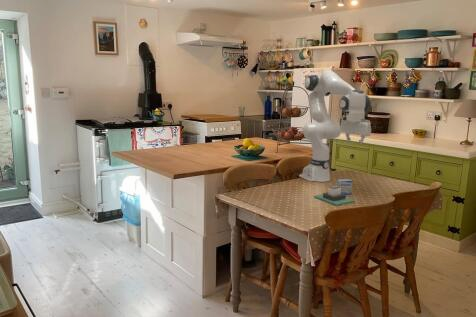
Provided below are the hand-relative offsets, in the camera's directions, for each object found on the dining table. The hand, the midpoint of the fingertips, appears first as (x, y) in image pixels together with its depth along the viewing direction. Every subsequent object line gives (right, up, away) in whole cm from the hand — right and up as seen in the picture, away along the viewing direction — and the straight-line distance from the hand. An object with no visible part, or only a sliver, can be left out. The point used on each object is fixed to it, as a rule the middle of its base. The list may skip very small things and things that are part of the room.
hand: (354, 142), depth 229 cm
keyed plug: (-14, -32, -8) cm, 36 cm away
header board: (-14, -33, -8) cm, 37 cm away
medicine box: (-5, -31, +5) cm, 32 cm away
